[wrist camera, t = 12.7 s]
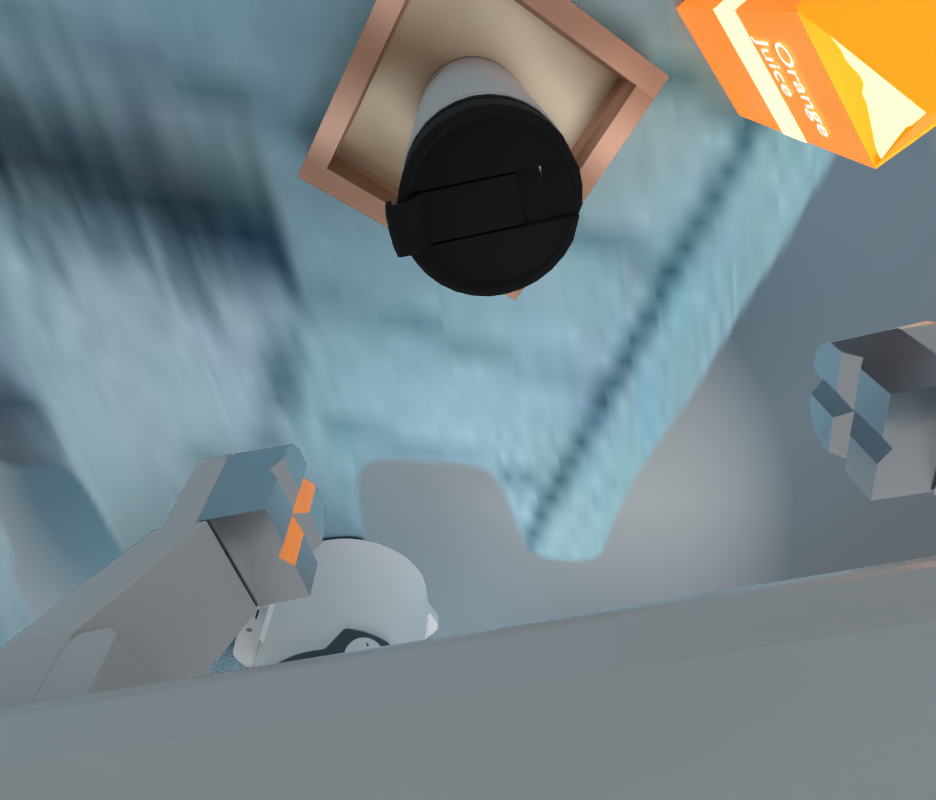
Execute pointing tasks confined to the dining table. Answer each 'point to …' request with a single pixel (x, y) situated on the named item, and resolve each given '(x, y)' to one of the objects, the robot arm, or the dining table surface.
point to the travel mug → (484, 183)
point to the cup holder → (484, 35)
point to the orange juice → (825, 68)
